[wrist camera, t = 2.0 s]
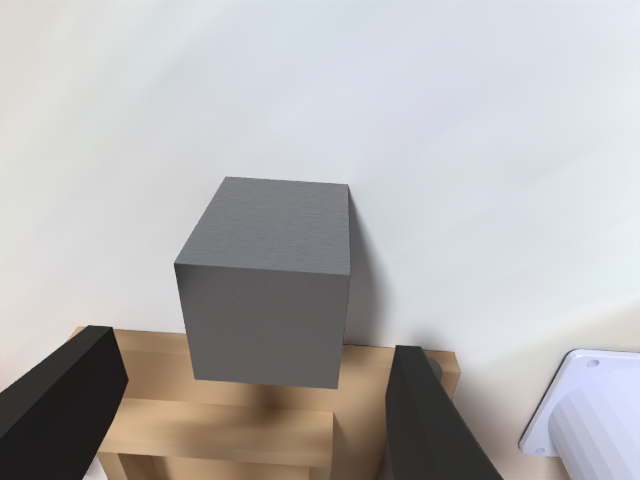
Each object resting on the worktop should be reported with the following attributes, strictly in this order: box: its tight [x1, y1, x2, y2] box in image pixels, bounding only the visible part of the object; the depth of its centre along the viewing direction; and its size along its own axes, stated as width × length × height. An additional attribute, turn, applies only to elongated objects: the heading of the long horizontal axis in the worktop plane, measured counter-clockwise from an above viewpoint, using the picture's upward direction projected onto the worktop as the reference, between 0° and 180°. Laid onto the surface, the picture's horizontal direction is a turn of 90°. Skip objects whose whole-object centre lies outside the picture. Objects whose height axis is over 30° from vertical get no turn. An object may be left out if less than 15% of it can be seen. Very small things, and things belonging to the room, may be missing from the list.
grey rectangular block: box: [174, 177, 351, 390], centre depth 14 cm, size 4×4×6 cm
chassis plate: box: [66, 327, 461, 480], centre depth 22 cm, size 18×16×3 cm
